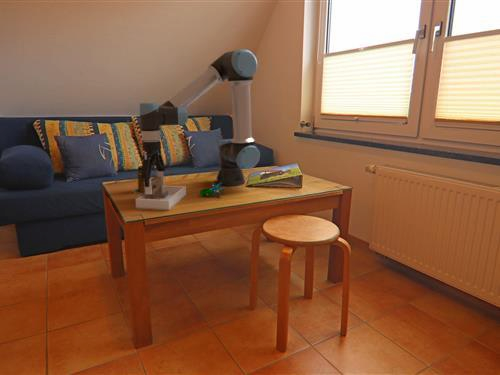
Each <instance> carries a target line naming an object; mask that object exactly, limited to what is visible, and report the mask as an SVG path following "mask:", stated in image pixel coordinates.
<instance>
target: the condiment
mask: <svg viewBox="0 0 500 375" xmlns="http://www.w3.org/2000/svg"><path fill="white" fill-rule="evenodd" d="M141 172H142V165H141V166H138V167H137V185H138V187H137V188H134V190H133V194H143V193H145V187H144V179H141ZM151 175H152V174H151ZM151 175H150V179H152V176H151Z"/></svg>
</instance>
